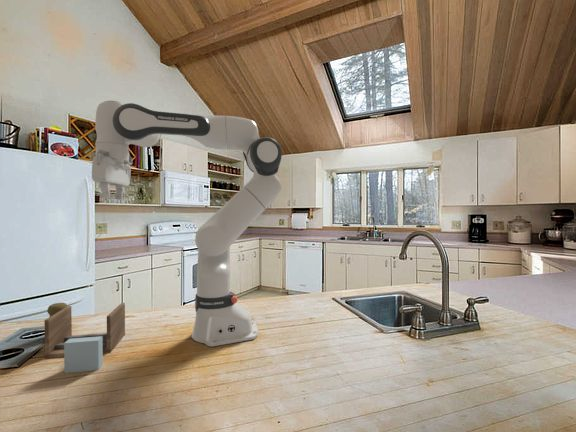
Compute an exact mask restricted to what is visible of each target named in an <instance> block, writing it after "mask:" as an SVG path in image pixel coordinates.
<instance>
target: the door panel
mask: <svg viewBox="0 0 576 432" xmlns="http://www.w3.org/2000/svg"><path fill="white" fill-rule="evenodd" d="M103 354H104V353H103V337H102V336H99V337H86V338H73V339H69V340H67V341H66V342H65V343H64V357H63V359H64V362H63V364H64V365H63V366H64V371H63V372H64V374H70V373H79V372H80V373H81V372H88V371H89V372H91V371H99V370H100V369H101V367H102V366H103V363H104V361H103V360H104V359H103V357H104V355H103Z"/></svg>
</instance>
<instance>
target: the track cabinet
mask: <svg viewBox="0 0 576 432" xmlns="http://www.w3.org/2000/svg"><path fill="white" fill-rule="evenodd" d="M72 319H73V318H72V305H67V307H65V308H64V309H62V310H60V311H59V312H57V313H55V314H54V315H52V316H51V317H50V316H49V317H47V318H45V319H44V359H50V358H51V359H52V358H61V357H63V358H64V343H65V342H66V341H67V340H69V339H73V338H86V337H99V336H102V337H103V354H107V353H112V351H113V350H114V349H115V347H117V346H118V344H119V343H120V342H121V341H122V339H123V338H124V337H125V335H126V303H125V302H121V303H120V304H119V305H118V306H117V307H115V308H114V309H112V311H111V312H110V313H108V314H107V316H106V332H105V333H93V334H77V335H76V334H75V335H73V333H72V331H73V330H72V326H73V325H72Z"/></svg>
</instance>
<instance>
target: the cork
mask: <svg viewBox="0 0 576 432" xmlns="http://www.w3.org/2000/svg"><path fill="white" fill-rule="evenodd" d="M67 306H68V304H67V303H65V302H57V303H55V302H54V303H52V304H50V305H48V308H47V314H48V315H49V317H51V316H52V315H54V314H55V313H57V312H59V311H60V310H62V309H64V308H65V307H67Z"/></svg>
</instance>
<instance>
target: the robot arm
mask: <svg viewBox="0 0 576 432" xmlns="http://www.w3.org/2000/svg"><path fill="white" fill-rule="evenodd" d="M95 111H96V113H95V120H94V121H95V126H94V128H95V132H96V140H95V156H93V158H92V163H91V179H92V181H93V182H95V183H99V188H100V191H101V198H102V199H111V198H112V197H111V196H112V195H111V192H110V185H111V186H115V193H114V199H115V200H123V194H124V190H125V187H129V186H130V184H131V172H132V169H131V166H132V165H133V158H132V157H131V155H130V151H129V145H134V146H138V147H142V148H152V147H155V146H156V145H157V144H158V143H159V142H160V140H161V136H162V135H166V136H167V135H169V136H182V137H183V136H184V137H187V138H189V139H192V140H195V141H196V142H198V143H200V144H201V145H202V146H203V147H206V148H209V149H215V150H234V151H235V150H236V151H241V152H242V153H243V158H244V159H245V163H246V165H247V168H248V169H249V170H250V172H253V175H252V177H251V178H250V180H249V181H248V182H247V183H246V184H245V185H244V186H243V187H241V189H240V190H239V191H237V192H236V193H235V194H234V195H233V196H232V197H231V198H230V199H229V200H228V201H227V202H226V203H225V204H224V205H223V206H222V207H221V208H219V209H218V210H217V211H216V212H215V213H214V214H213V215H212V216H211V217H209V218H208V219H207V220H206V221H205V222H204V223H203V224H202V225H201V226H200V227H199V228H198V230H197V231H196V234H195V236H194V237H195V238H194V239H195V241H194V242H195V246H196V248H197V250H198V251H197V265H196V267H197V269H196V293H195V298H194V308H195V320H194V324H193V325H194V326H193V330H192V333H191V338H192V339H193V340H194V341H196V342H197V343H201V344H204V345H206V346H208V347H216V346H217V347H218V346H223V345H228V344H229V345H230V344H234V343H240V342H245V341H246V342H247V341H251V340H255V339H256V338H257V337H258V335H259V327H258V325H257V323H256V322H255V321H253V320H252V315H251V314H250V312H249V310H248V309H247V308H245V307H243V306H242V305H240V304H239V303H238V297H237V295H236V293H235V291H231V246H232V245H233V244H234V242H236V240H238V239H239V237H240V236H241V235H242V234H243V233H244V232H245V231H246V230H247V228H249V226H250V225H252V223H253V222H254V221H255V220H257V218H258V217H260V215H262V214H263V213H264V211H266V210H267V208H268V207H269V206H271V204H272V203H273V202H274V201H275V199H276V198H277V197H278V196H279V194H280V192H281V190H282V182H281V180H280V178H279V177H278V176H277V175H276V174H277V173H278V171H279V168H280V164H281V161H282V156H283V153H282V151H283V150H282V148H281V145H280V144H279V143H278V142H277V140H275V139H274V138H272V137H266V136H264V137H260V134H259V133H260V132H259V128H258V126H257V125H258V124H257V123H256V122H255V121H254V120H252V119H249V118H246V117H241V116H233V115H204V114H203V115H199V114H188V113H177V112H168V111H167V112H166V111H156V110H151V109H148V108H147V107H145V106H142V105H140V104H137V103H132V102H131V103H124V102H121V101H117V100H105V101H102V102H100V103H99V104H98V105H97V107H96V110H95Z"/></svg>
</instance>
